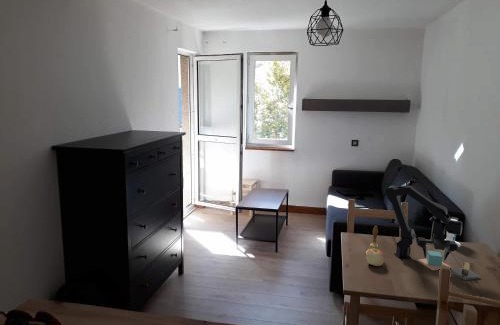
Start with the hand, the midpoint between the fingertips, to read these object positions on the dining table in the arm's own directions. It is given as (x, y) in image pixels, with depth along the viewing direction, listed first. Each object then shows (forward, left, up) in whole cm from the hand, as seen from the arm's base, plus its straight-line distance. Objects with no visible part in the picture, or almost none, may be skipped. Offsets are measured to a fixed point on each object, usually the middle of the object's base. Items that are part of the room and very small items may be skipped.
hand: (434, 259), depth 198 cm
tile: (0, 0, -3) cm, 3 cm away
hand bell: (-24, +18, -3) cm, 30 cm away
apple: (-31, +6, -3) cm, 32 cm away
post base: (+7, -13, -3) cm, 15 cm away
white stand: (+30, +22, -3) cm, 37 cm away
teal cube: (0, 0, -2) cm, 2 cm away
